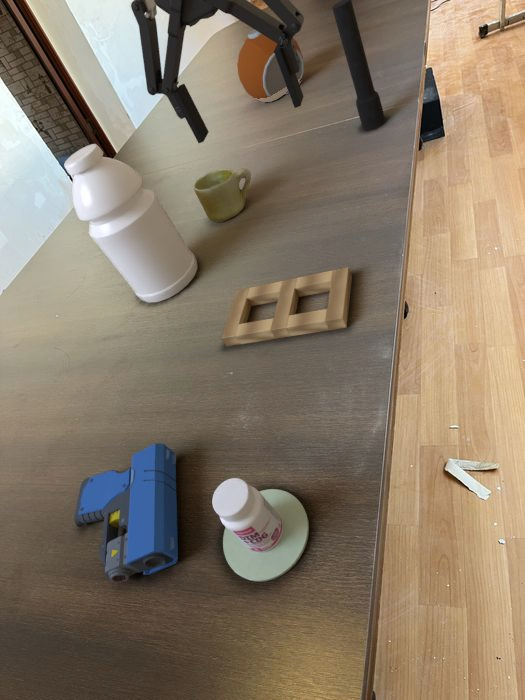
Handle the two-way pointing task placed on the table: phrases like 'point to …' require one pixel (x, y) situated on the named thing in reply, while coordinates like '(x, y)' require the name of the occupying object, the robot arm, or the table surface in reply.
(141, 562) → the stun gun
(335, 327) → the frame
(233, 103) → the table surface
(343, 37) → the flashlight
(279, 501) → the coaster
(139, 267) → the bottle
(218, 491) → the pill bottle
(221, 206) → the mug
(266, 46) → the alarm clock
